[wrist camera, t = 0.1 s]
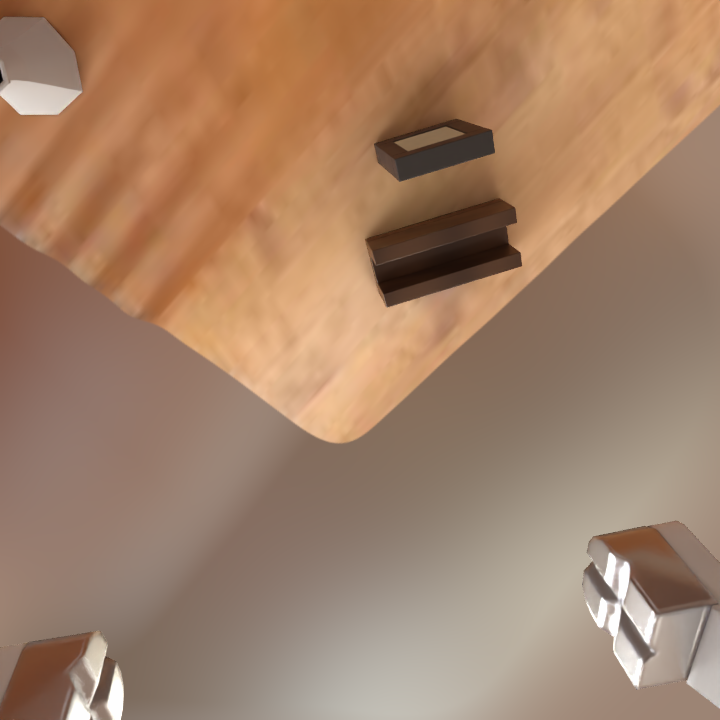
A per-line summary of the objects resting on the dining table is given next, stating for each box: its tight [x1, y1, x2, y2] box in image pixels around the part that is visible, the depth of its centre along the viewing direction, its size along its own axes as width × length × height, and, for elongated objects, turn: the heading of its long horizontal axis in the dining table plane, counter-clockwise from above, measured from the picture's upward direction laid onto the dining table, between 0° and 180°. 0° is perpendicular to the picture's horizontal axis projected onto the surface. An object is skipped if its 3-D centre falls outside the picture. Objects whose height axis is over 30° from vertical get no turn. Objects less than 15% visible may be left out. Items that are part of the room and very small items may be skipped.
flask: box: [0, 17, 83, 115], centre depth 41 cm, size 7×7×10 cm
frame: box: [374, 119, 495, 182], centre depth 49 cm, size 8×2×9 cm, turn 105°
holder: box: [365, 198, 522, 307], centre depth 56 cm, size 14×6×4 cm, turn 105°
